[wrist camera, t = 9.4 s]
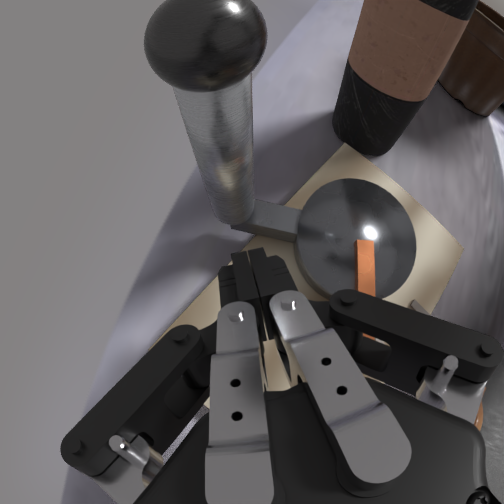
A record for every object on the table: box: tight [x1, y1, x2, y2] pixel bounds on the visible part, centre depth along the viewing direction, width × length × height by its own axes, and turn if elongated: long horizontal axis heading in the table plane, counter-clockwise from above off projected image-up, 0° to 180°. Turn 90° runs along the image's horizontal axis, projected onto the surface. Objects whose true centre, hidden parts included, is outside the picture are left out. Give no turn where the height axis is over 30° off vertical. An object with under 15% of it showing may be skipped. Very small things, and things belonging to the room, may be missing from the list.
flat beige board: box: [148, 143, 464, 408], centre depth 21 cm, size 15×24×2 cm, turn 138°
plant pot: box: [438, 0, 504, 116], centre depth 22 cm, size 16×16×16 cm
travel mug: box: [333, 0, 479, 155], centre depth 17 cm, size 8×8×20 cm
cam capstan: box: [144, 0, 417, 340], centre depth 12 cm, size 13×15×17 cm
